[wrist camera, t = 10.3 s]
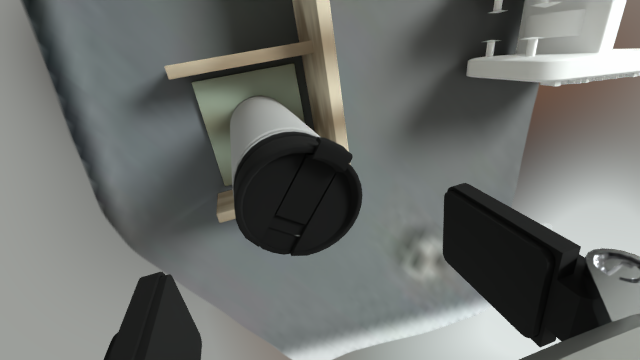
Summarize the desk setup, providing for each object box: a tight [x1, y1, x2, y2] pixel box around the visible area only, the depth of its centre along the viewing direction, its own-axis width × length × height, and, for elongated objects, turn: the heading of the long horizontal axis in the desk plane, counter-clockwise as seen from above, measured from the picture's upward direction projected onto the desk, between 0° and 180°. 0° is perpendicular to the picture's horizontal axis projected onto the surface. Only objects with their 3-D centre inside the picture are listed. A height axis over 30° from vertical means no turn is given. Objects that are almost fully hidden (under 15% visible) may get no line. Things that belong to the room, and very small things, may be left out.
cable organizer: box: [466, 0, 640, 86], centre depth 31 cm, size 15×11×12 cm
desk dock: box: [165, 0, 350, 223], centre depth 26 cm, size 28×13×8 cm, turn 9°
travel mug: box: [230, 95, 362, 256], centre depth 23 cm, size 6×7×20 cm
